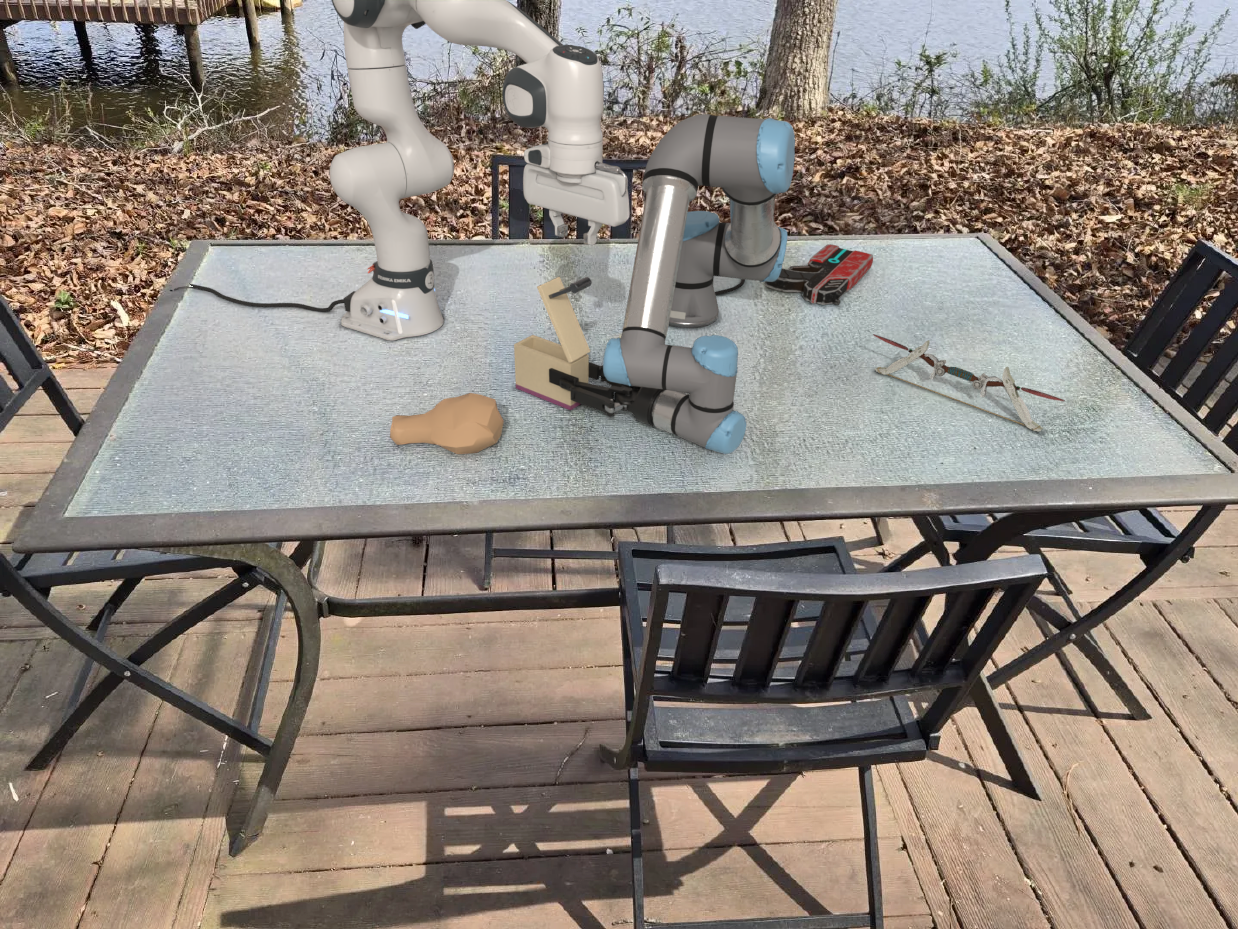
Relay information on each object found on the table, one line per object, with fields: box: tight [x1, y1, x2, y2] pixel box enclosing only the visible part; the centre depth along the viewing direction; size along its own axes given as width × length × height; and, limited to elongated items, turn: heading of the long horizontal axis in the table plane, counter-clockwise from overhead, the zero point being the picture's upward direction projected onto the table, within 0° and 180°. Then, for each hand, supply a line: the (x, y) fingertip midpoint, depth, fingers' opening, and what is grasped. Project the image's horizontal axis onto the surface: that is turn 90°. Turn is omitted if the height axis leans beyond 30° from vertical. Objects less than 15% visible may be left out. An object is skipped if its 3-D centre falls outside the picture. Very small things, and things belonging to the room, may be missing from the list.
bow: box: [872, 333, 1066, 432], centre depth 170 cm, size 39×2×10 cm, turn 47°
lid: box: [536, 276, 592, 363], centre depth 157 cm, size 15×6×8 cm
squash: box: [389, 392, 505, 455], centre depth 152 cm, size 11×20×9 cm, turn 90°
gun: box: [764, 243, 874, 306], centre depth 221 cm, size 4×31×19 cm
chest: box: [513, 334, 590, 411], centre depth 168 cm, size 14×6×10 cm, turn 54°
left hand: (575, 239), depth 150 cm, fingers open, 5 cm apart
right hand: (561, 369), depth 166 cm, fingers closed on chest, 5 cm apart
